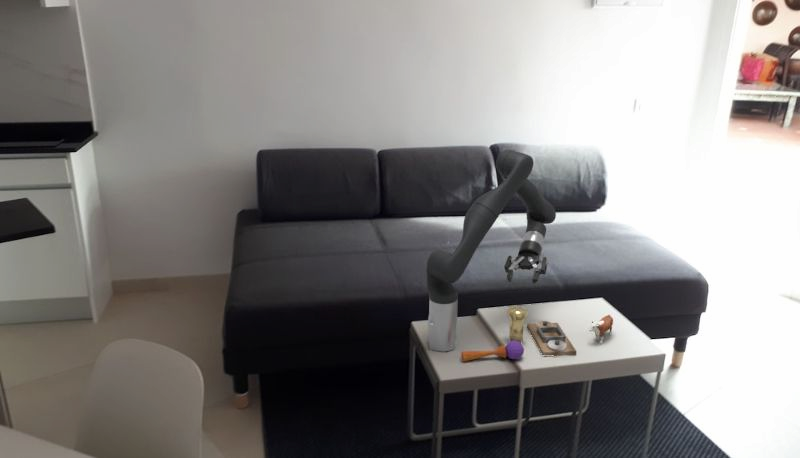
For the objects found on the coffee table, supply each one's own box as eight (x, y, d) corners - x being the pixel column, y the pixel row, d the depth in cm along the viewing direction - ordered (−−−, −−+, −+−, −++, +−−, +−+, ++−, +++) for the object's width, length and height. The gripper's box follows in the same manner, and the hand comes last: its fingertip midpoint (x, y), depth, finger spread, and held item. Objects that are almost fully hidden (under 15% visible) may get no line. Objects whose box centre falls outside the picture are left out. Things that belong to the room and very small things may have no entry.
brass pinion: (508, 347, 210) (510, 314, 206) (504, 338, 215) (505, 306, 211) (527, 346, 210) (529, 313, 206) (522, 337, 216) (524, 305, 212)
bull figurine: (584, 344, 211) (587, 322, 209) (604, 330, 220) (606, 309, 218) (596, 348, 208) (599, 326, 206) (615, 334, 217) (618, 313, 215)
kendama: (460, 344, 204) (520, 337, 205) (461, 362, 204) (521, 354, 206) (463, 350, 198) (525, 342, 199) (464, 368, 198) (526, 360, 200)
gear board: (542, 356, 204) (543, 346, 202) (526, 327, 222) (527, 318, 221) (576, 355, 204) (577, 345, 203) (557, 326, 223) (557, 317, 222)
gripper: (510, 238, 224) (499, 272, 214) (549, 239, 218) (540, 274, 207) (514, 253, 229) (503, 287, 219) (553, 254, 222) (544, 289, 212)
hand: (521, 281), depth 213 cm, fingers open, 8 cm apart
